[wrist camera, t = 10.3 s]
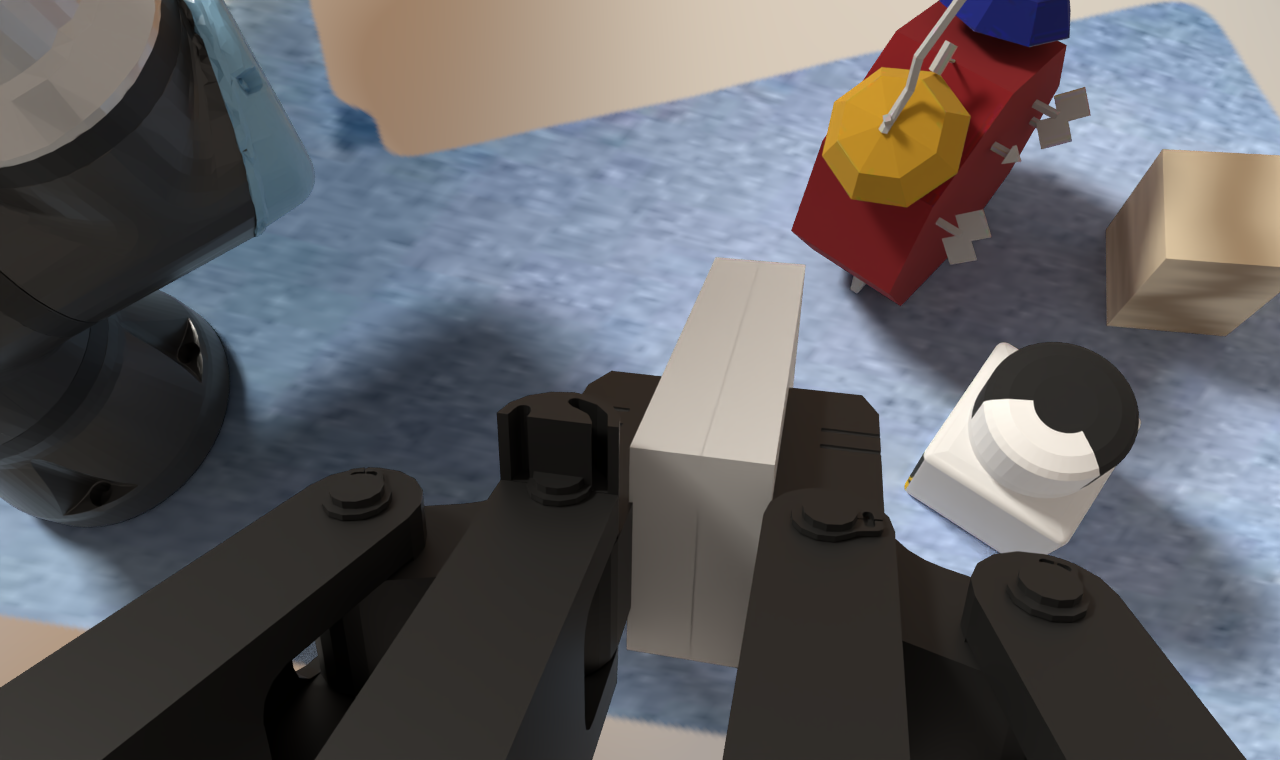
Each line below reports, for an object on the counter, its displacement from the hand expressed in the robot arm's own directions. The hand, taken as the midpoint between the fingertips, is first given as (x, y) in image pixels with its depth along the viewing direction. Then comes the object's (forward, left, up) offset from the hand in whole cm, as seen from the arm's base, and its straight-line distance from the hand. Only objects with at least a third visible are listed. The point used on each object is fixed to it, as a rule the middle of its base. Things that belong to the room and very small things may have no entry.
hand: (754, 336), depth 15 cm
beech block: (+14, +24, -34) cm, 44 cm away
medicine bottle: (+9, +10, -34) cm, 37 cm away
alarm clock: (+1, +22, -34) cm, 41 cm away
